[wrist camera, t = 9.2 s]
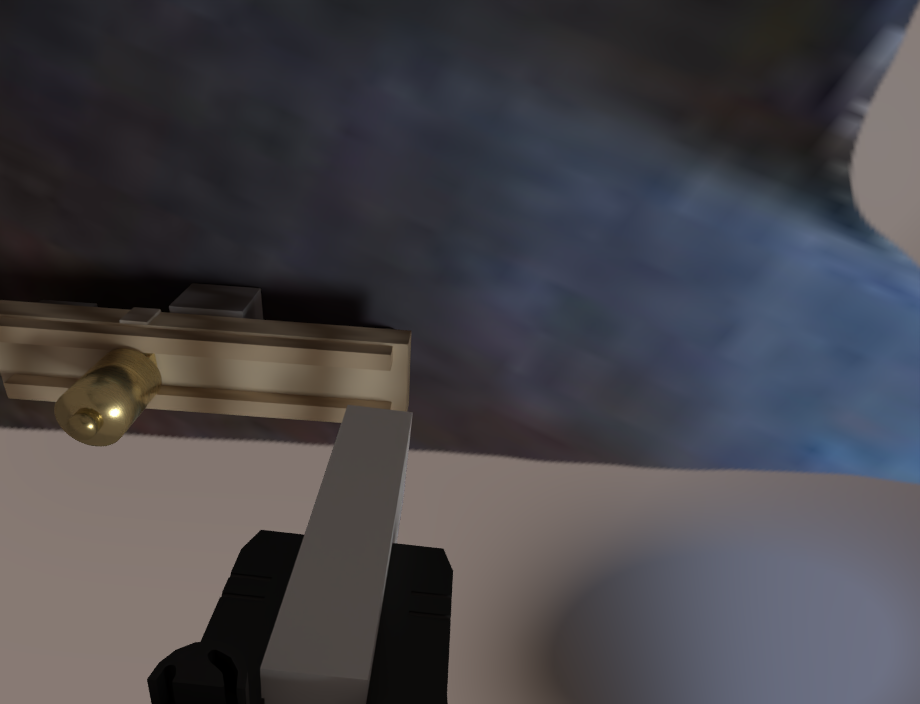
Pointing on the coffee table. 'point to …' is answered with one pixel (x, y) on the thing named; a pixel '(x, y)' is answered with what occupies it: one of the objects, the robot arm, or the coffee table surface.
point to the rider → (109, 397)
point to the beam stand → (209, 355)
